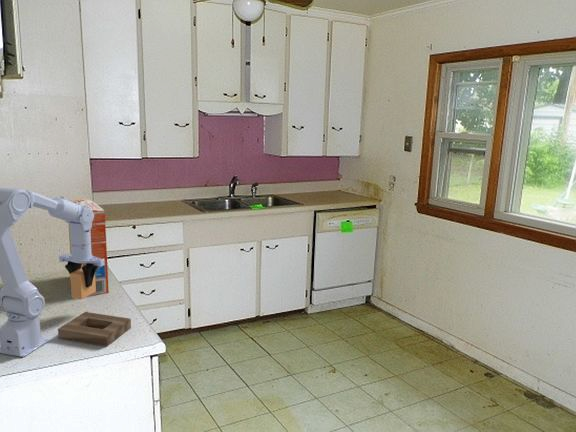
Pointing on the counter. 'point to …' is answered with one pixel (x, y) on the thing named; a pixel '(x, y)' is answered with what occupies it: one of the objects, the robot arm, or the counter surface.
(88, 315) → the keyed socket
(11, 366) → the counter surface
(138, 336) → the counter surface
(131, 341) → the counter surface
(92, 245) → the cereal box
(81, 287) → the keyed peg
